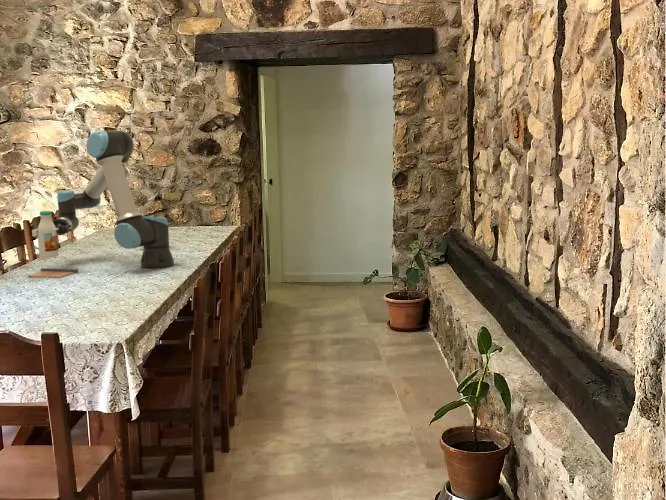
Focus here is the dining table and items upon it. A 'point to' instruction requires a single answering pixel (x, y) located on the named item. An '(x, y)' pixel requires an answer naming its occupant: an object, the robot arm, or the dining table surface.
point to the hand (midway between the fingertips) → (43, 233)
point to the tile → (50, 274)
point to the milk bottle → (47, 236)
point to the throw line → (60, 270)
